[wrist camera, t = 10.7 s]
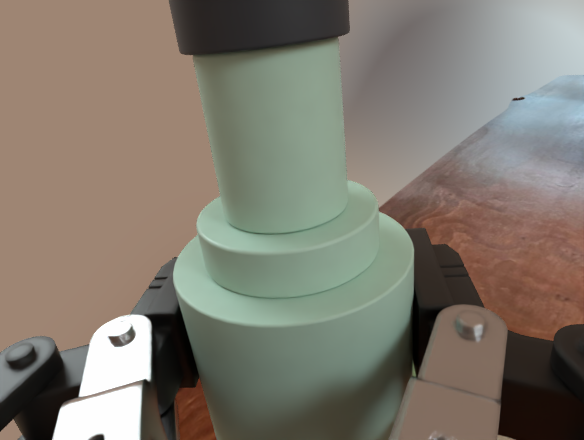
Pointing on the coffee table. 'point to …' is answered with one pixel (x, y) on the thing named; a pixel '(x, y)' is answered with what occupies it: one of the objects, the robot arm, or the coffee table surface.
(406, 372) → the bottle
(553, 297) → the coffee table surface
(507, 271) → the coffee table surface
